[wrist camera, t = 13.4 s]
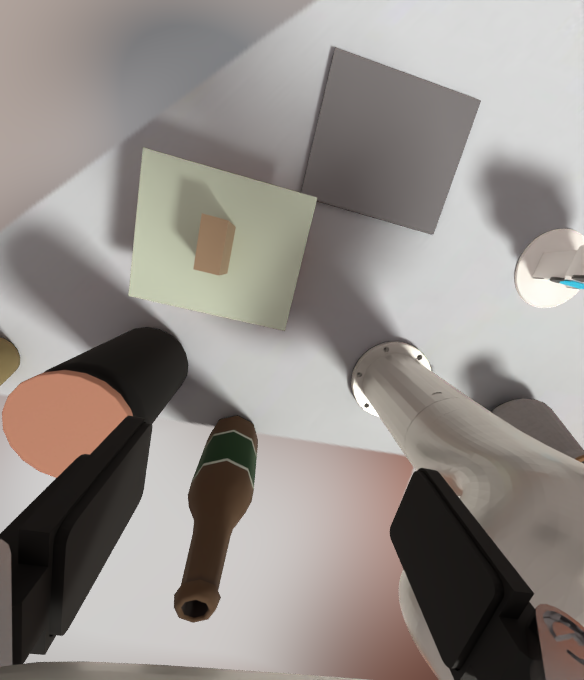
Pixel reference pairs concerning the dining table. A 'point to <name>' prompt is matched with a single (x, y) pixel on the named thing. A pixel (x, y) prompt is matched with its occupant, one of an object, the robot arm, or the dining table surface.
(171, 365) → the coffee jar
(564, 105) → the dining table surface
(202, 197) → the lid
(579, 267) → the panda figurine
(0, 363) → the squeeze bottle
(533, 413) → the coffee pot
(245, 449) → the beer bottle
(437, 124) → the mat
